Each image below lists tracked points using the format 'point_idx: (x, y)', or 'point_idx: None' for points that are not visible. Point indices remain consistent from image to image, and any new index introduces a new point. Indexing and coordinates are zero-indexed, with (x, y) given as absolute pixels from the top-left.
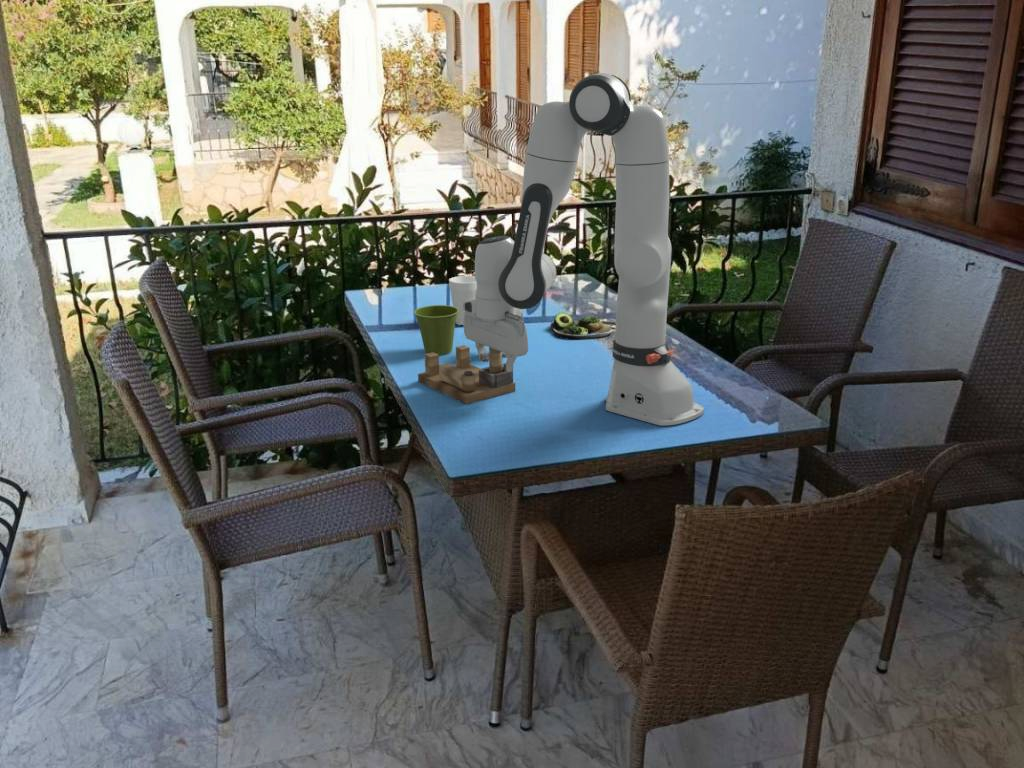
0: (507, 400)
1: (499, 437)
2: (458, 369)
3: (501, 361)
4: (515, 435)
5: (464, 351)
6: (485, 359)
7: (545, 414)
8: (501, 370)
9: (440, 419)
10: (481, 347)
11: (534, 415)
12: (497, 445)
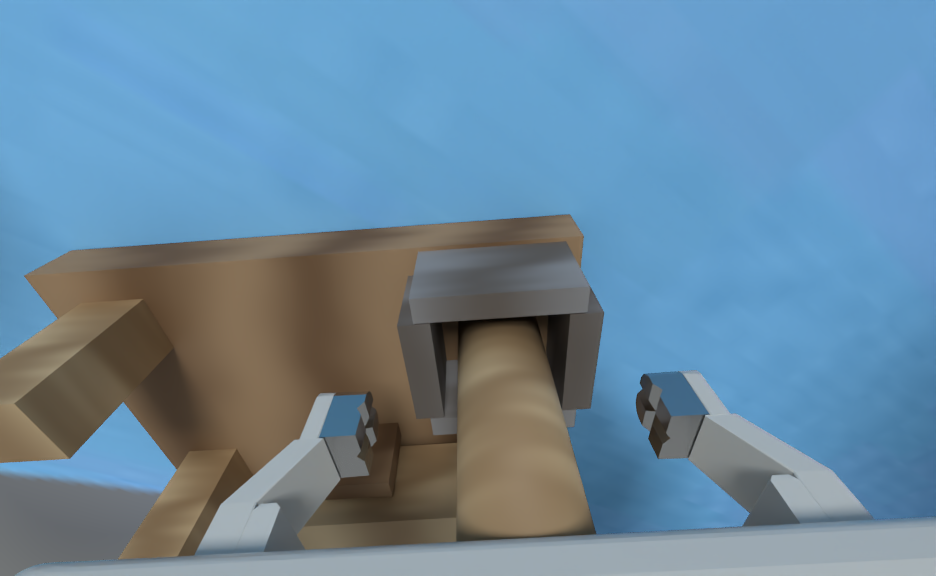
0: (640, 313)
1: (852, 477)
2: (419, 530)
3: (562, 415)
4: (897, 445)
5: (70, 418)
6: (366, 415)
7: (923, 274)
8: (547, 359)
9: (598, 521)
10: (287, 510)
11: (874, 317)
12: (878, 498)
